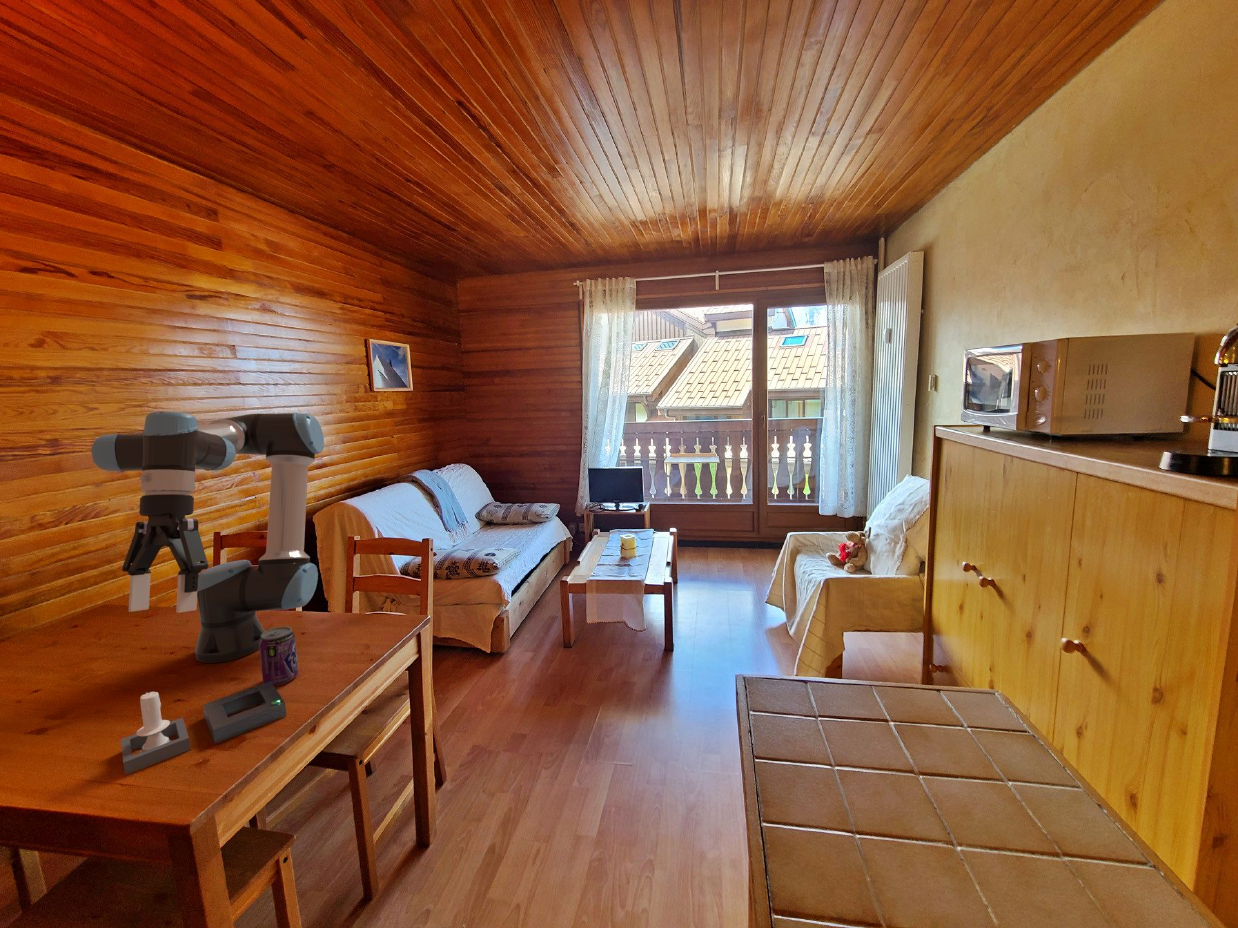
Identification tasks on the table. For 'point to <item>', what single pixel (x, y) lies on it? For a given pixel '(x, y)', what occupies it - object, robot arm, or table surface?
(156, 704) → the candle
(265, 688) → the port block
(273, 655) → the beverage can
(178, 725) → the grey square frame
